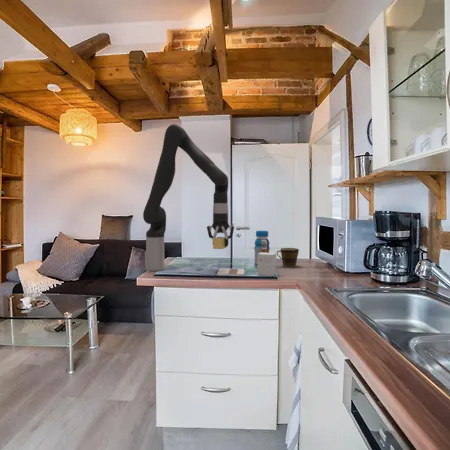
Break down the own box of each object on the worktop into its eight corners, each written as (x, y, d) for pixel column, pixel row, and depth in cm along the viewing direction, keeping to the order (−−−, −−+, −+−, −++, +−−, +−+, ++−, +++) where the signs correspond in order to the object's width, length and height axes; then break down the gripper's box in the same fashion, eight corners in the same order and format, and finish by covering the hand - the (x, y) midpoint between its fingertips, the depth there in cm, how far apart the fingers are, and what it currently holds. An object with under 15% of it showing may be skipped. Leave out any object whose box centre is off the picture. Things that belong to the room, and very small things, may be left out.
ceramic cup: (292, 264, 174) (292, 247, 174) (302, 267, 165) (302, 249, 164) (272, 265, 170) (272, 248, 170) (281, 269, 161) (281, 250, 160)
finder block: (213, 248, 147) (213, 238, 146) (219, 246, 155) (219, 236, 155) (222, 249, 145) (222, 238, 145) (227, 247, 154) (227, 237, 154)
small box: (276, 274, 148) (276, 253, 147) (273, 276, 142) (273, 254, 142) (260, 272, 151) (260, 252, 150) (257, 275, 146) (257, 253, 145)
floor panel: (217, 275, 145) (217, 273, 145) (219, 270, 157) (219, 268, 157) (243, 275, 144) (243, 273, 144) (244, 270, 156) (244, 269, 156)
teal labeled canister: (251, 267, 165) (252, 231, 164) (257, 265, 172) (257, 230, 171) (266, 268, 161) (266, 231, 160) (271, 266, 169) (271, 230, 168)
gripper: (205, 212, 146) (205, 247, 147) (234, 212, 145) (234, 247, 146) (207, 212, 154) (207, 245, 155) (235, 212, 152) (235, 245, 153)
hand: (220, 246), depth 150 cm, fingers closed on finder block, 5 cm apart
